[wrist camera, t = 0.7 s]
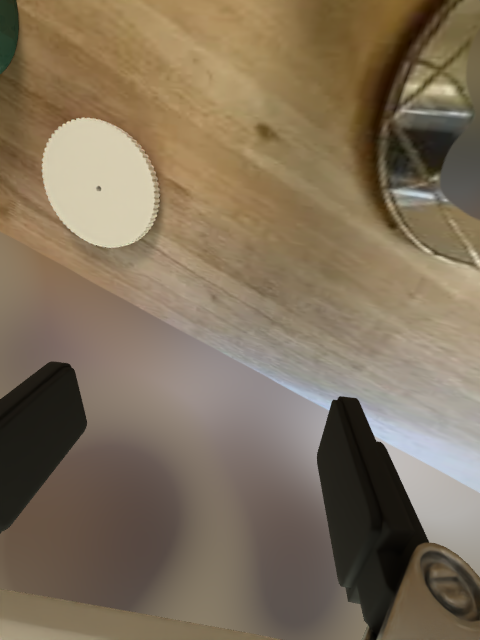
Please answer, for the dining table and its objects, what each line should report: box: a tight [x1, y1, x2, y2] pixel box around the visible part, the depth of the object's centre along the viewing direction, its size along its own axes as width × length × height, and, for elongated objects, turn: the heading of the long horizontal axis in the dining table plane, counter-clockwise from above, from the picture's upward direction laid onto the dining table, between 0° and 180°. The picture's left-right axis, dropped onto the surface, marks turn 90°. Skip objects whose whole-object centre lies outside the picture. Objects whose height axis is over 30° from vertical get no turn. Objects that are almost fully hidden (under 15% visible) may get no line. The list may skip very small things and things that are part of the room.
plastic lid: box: [42, 118, 160, 248], centre depth 33 cm, size 14×14×2 cm
